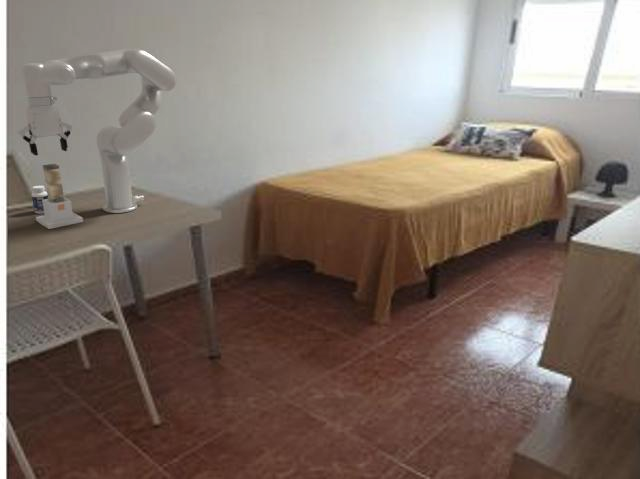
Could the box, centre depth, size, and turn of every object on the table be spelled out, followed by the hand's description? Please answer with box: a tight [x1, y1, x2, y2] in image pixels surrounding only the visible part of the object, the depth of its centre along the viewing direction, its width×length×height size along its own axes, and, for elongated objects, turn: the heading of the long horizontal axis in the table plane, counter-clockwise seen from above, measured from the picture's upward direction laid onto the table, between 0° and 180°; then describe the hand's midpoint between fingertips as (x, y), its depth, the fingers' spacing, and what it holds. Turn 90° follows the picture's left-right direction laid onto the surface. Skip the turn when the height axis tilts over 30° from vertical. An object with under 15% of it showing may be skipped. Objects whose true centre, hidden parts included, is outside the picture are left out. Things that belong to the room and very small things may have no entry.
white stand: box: [35, 196, 84, 230], centre depth 192 cm, size 12×12×9 cm
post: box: [42, 163, 65, 203], centre depth 189 cm, size 4×4×14 cm
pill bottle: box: [31, 185, 48, 214], centre depth 202 cm, size 5×5×10 cm
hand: (50, 152), depth 185 cm, fingers open, 9 cm apart
